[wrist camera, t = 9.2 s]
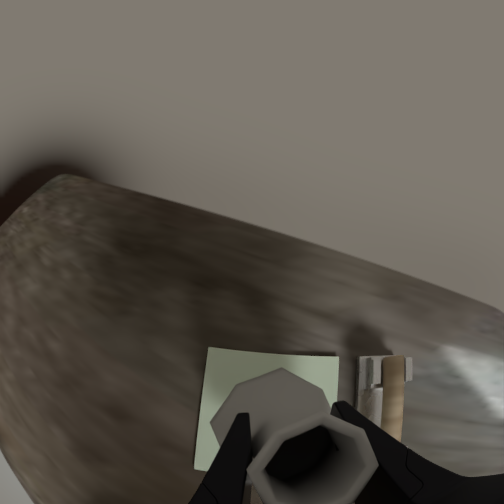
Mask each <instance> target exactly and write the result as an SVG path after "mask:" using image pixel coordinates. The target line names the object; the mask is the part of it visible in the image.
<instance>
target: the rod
mask: <svg viewBox="0 0 504 504" xmlns="http://www.w3.org/2000/svg"><path fill="white" fill-rule="evenodd" d="M403 402H404V355H397V356H389V357H385V358H383V397H382V414H381V427H380V428H381V429H383V430H384V431H385V432H387V433H388V434H389V435H391V436H392V437H394V438H395V439H396V440H398V441H399V442H400V440H401V431H402V419H403Z"/></svg>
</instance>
